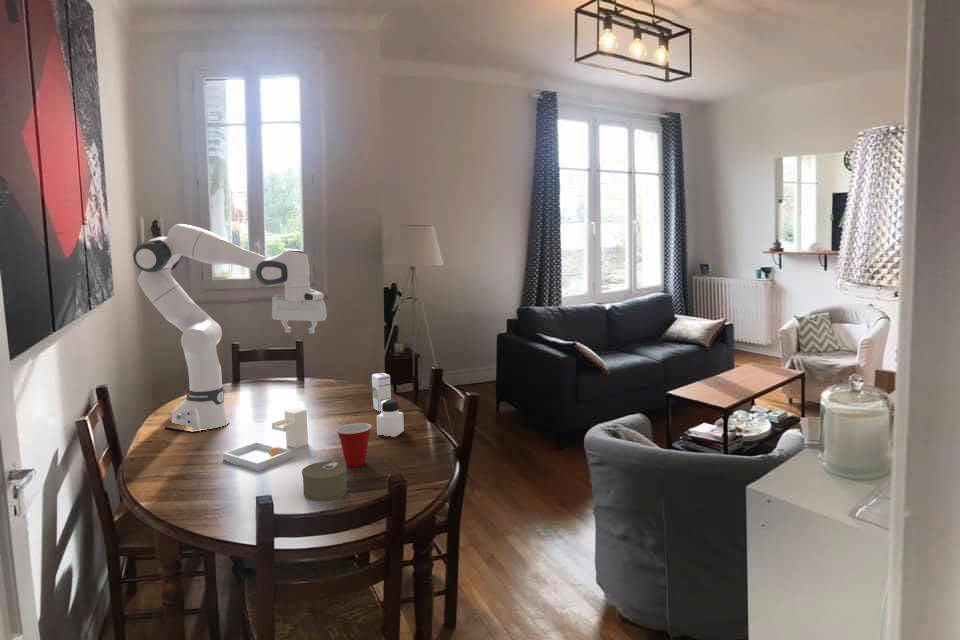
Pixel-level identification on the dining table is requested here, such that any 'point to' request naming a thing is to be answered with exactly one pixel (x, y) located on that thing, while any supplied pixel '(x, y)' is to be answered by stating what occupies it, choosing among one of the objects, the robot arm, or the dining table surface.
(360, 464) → the plastic cup
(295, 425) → the white block with shelf
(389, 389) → the syrup box
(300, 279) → the robot arm
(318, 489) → the can
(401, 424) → the medicine bottle
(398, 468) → the dining table surface
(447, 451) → the dining table surface
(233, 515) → the dining table surface
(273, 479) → the dining table surface
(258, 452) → the tray
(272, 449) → the ball
